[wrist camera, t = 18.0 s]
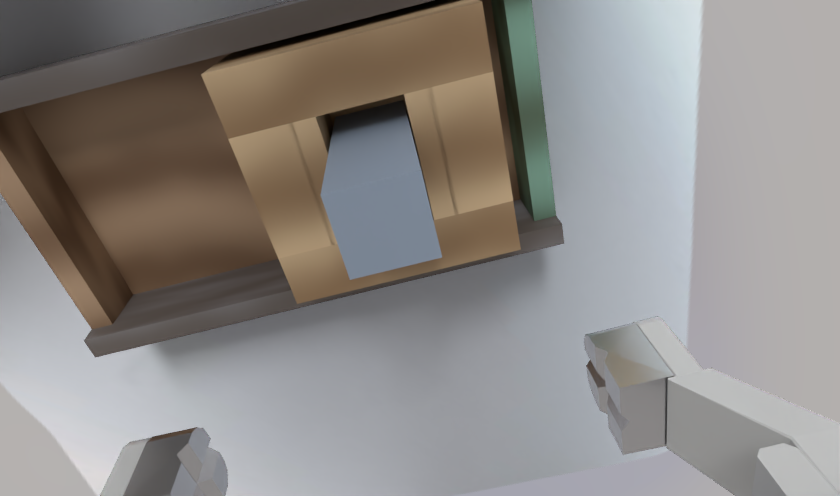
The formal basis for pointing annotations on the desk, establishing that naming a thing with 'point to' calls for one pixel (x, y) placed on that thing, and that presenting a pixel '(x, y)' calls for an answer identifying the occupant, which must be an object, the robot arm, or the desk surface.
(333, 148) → the handle peg
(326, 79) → the slotted wooden block
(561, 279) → the desk surface
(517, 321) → the desk surface
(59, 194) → the bay
